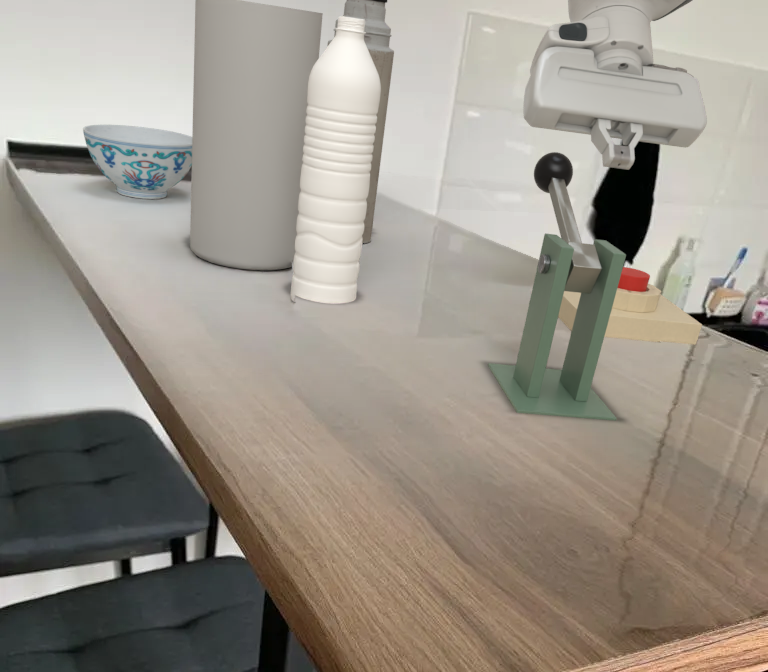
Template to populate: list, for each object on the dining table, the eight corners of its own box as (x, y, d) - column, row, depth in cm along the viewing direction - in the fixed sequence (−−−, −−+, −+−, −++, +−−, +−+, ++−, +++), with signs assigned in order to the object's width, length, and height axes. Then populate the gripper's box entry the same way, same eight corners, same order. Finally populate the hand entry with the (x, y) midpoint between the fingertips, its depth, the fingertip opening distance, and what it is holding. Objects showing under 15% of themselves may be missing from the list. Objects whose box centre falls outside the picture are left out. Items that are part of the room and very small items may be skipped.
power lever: (526, 176, 74) (538, 141, 71) (561, 180, 74) (574, 146, 72) (554, 294, 65) (569, 260, 63) (594, 298, 66) (610, 265, 63)
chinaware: (180, 211, 114) (181, 148, 110) (67, 194, 114) (64, 131, 110) (208, 193, 127) (210, 137, 123) (107, 177, 127) (106, 121, 123)
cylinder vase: (166, 252, 95) (169, -11, 83) (231, 237, 105) (242, 1, 93) (262, 279, 91) (280, 6, 79) (320, 260, 101) (344, 16, 89)
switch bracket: (485, 376, 74) (516, 223, 68) (573, 383, 75) (612, 234, 69) (513, 424, 65) (552, 254, 59) (613, 432, 67) (661, 266, 60)
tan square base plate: (651, 321, 97) (664, 277, 95) (692, 355, 88) (708, 307, 85) (541, 310, 95) (552, 264, 93) (572, 343, 86) (584, 293, 83)
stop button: (636, 285, 91) (641, 268, 90) (651, 296, 88) (656, 279, 87) (601, 281, 91) (605, 264, 90) (614, 292, 87) (619, 275, 86)
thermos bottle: (317, 226, 117) (339, -13, 103) (374, 235, 117) (404, -3, 103) (304, 237, 110) (327, -17, 97) (365, 247, 110) (396, -6, 96)
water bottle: (354, 316, 84) (390, 23, 71) (287, 308, 83) (312, 11, 71) (355, 292, 91) (387, 23, 79) (293, 284, 91) (316, 12, 78)
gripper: (683, 91, 101) (693, 193, 98) (516, 67, 98) (520, 172, 94) (711, 50, 95) (723, 157, 92) (535, 23, 92) (540, 133, 88)
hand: (618, 164), depth 93 cm, fingers closed
